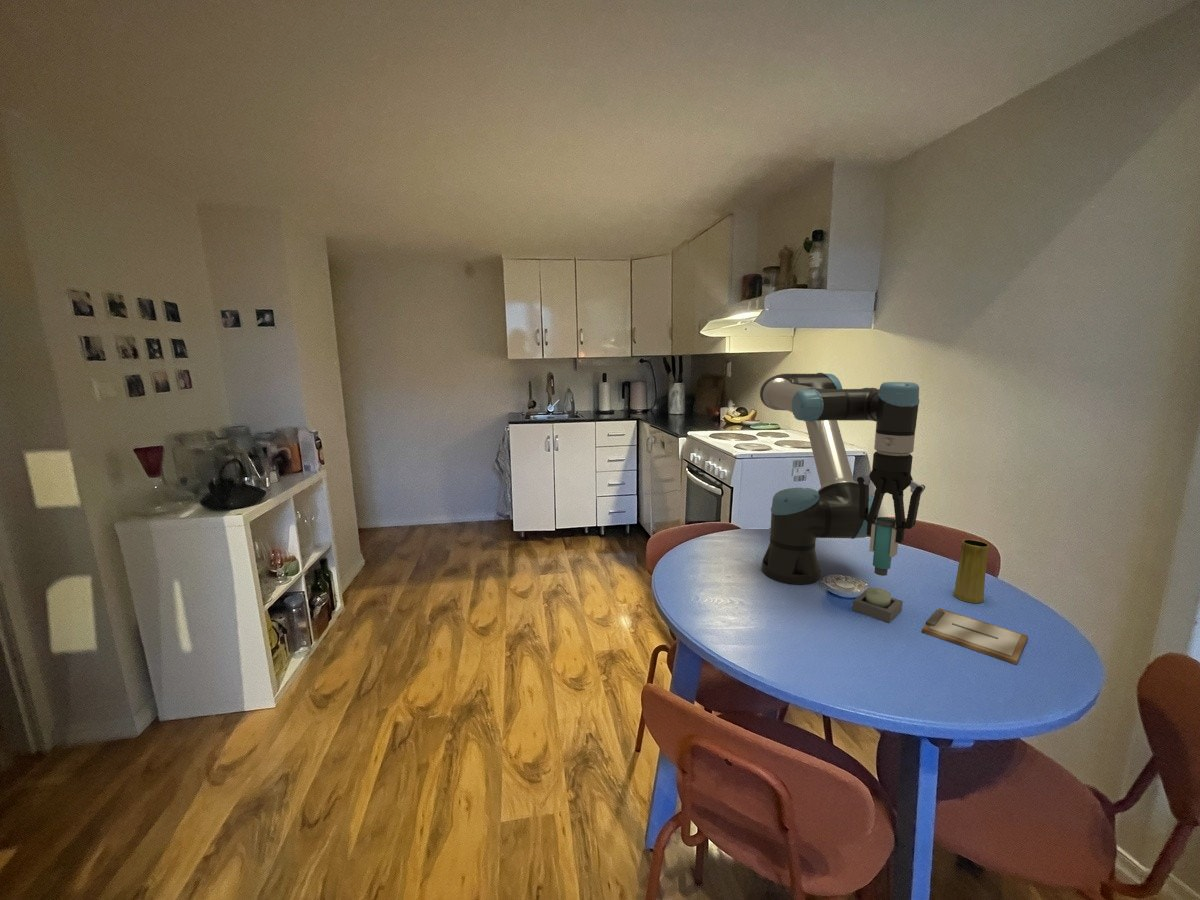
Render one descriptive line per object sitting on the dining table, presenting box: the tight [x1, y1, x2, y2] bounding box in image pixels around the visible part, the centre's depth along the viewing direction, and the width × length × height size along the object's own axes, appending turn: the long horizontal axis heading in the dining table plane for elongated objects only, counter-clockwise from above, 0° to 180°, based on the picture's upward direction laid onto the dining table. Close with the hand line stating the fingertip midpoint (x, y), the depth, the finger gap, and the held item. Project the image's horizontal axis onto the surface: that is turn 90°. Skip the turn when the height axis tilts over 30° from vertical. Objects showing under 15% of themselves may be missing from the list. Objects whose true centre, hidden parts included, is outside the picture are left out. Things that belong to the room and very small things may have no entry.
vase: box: [952, 538, 990, 604], centre depth 121 cm, size 6×6×14 cm
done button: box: [866, 586, 892, 609], centre depth 116 cm, size 5×5×3 cm
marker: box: [872, 516, 896, 577], centre depth 114 cm, size 4×4×13 cm
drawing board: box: [921, 607, 1029, 666], centre depth 106 cm, size 16×13×1 cm
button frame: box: [852, 589, 904, 624], centre depth 117 cm, size 8×8×2 cm
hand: (883, 552), depth 114 cm, fingers closed on marker, 3 cm apart
